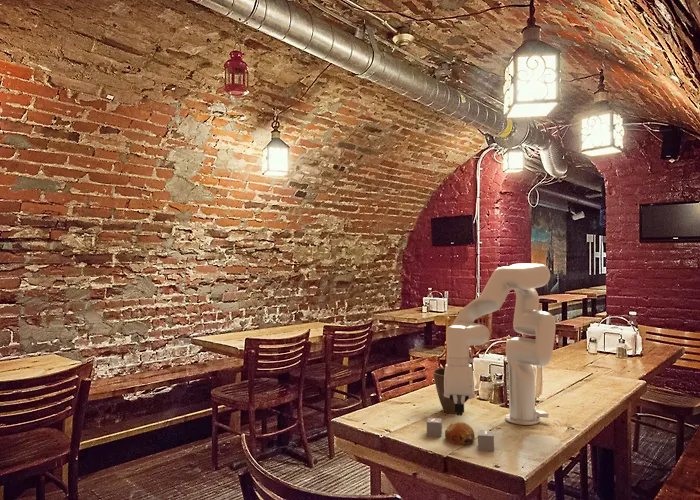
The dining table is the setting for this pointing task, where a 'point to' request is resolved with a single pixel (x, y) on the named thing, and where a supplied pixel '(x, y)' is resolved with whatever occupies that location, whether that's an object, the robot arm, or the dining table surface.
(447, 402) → the plant pot
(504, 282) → the robot arm
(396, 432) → the dining table surface
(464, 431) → the bread roll
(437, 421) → the numbered block 7
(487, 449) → the numbered block 1
